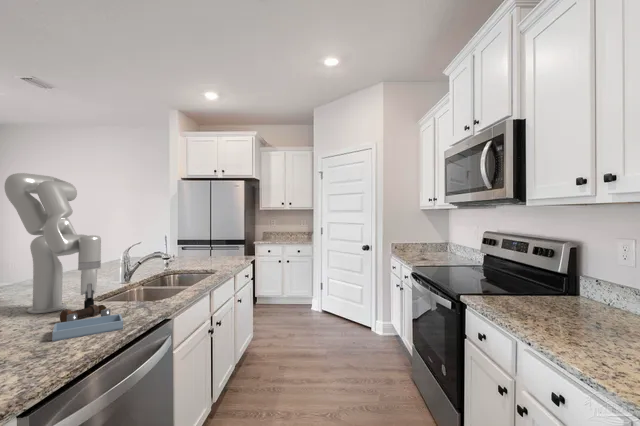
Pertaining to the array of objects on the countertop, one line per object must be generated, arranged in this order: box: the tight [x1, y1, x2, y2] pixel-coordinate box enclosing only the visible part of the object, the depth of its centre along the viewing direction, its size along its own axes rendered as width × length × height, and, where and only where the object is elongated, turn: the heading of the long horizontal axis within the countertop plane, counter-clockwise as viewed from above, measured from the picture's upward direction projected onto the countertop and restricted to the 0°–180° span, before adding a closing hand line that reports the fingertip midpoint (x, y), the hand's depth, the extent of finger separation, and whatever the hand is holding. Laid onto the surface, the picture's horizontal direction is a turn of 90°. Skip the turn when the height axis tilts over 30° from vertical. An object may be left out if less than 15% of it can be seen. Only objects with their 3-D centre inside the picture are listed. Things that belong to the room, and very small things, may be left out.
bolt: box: [59, 304, 107, 323], centre depth 125 cm, size 6×5×15 cm
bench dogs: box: [67, 308, 111, 322], centre depth 117 cm, size 3×13×4 cm, turn 126°
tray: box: [51, 313, 124, 342], centre depth 111 cm, size 10×19×3 cm, turn 127°
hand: (88, 310), depth 131 cm, fingers closed
